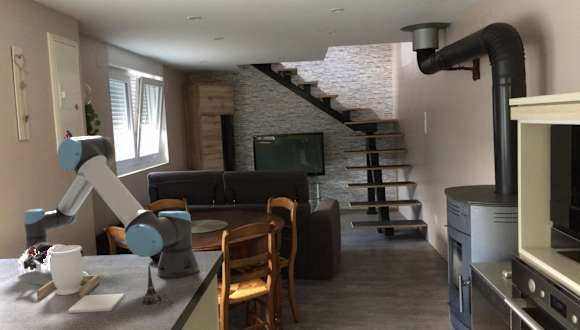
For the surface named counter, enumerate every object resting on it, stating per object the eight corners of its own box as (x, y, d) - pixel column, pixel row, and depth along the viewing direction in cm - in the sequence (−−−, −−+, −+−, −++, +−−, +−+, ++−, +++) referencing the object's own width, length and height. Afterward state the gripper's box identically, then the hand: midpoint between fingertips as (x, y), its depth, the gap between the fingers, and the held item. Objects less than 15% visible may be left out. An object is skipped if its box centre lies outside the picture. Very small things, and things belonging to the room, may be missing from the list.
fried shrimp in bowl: (140, 254, 203) (150, 230, 219) (155, 275, 207) (163, 250, 223) (160, 245, 201) (168, 222, 218) (174, 266, 205) (182, 242, 222)
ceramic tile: (124, 295, 168) (124, 293, 168) (110, 310, 155) (110, 308, 155) (85, 297, 168) (85, 295, 168) (68, 312, 155) (67, 310, 155)
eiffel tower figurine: (176, 307, 157) (173, 264, 156) (144, 314, 152) (140, 271, 151) (162, 293, 170) (159, 254, 169) (131, 300, 165) (128, 260, 164)
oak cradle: (99, 282, 184) (98, 274, 183) (82, 297, 169) (82, 288, 168) (58, 284, 184) (57, 276, 183) (37, 299, 169) (36, 290, 168)
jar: (73, 297, 169) (69, 252, 168) (45, 296, 172) (41, 252, 170) (91, 286, 180) (88, 244, 178) (65, 285, 182) (61, 244, 181)
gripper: (78, 255, 204) (97, 265, 187) (9, 269, 188) (22, 282, 172) (77, 237, 203) (95, 245, 187) (6, 249, 187) (20, 260, 171)
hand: (60, 263), depth 179 cm, fingers open, 13 cm apart
